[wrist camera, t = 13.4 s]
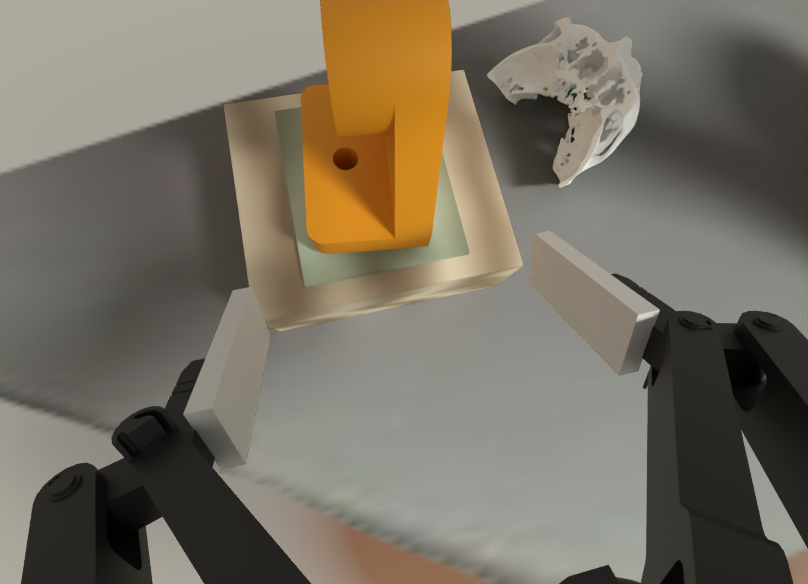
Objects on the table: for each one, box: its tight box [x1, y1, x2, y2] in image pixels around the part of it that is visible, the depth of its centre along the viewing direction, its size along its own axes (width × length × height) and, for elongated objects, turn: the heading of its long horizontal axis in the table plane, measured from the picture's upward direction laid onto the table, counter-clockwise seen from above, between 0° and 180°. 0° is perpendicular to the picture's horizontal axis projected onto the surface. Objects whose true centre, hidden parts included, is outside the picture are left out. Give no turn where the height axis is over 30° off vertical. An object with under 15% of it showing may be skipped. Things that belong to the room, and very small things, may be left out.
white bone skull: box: [487, 17, 643, 188], centre depth 31 cm, size 12×9×10 cm
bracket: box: [301, 0, 452, 254], centre depth 19 cm, size 11×7×12 cm, turn 6°
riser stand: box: [224, 70, 523, 332], centre depth 28 cm, size 18×16×6 cm
